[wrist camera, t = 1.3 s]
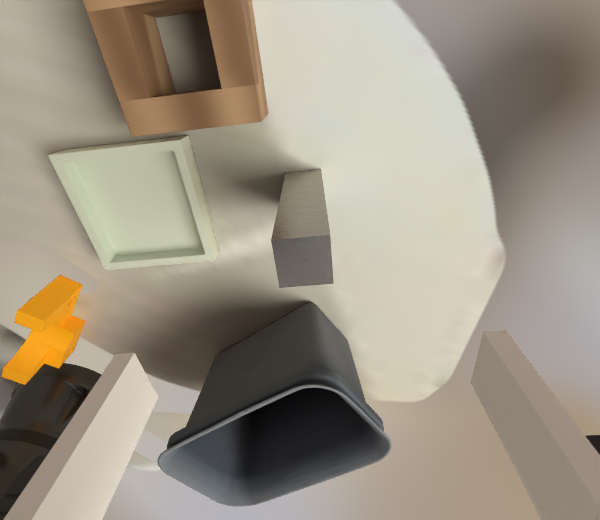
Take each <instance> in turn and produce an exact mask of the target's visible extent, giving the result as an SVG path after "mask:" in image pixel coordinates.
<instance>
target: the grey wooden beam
mask: <svg viewBox="0 0 600 520" xmlns="http://www.w3.org/2000/svg"><path fill="white" fill-rule="evenodd" d="M271 242H272V247H273V253H274V259H275V264H276V270H277V276H278V281H279V287H280V288H283V287H295V286H308V285H321V284H333V271H332V256H331V242H330V231H329V224H328V217H327V210H326V202H325V195H324V188H323V181H322V174H321V169H318V170H308V171H299V172H289V173H285V177H284V182H283V187H282V192H281V196H280V201H279V206H278V211H277V215H276V220H275V225H274V230H273V234H272V239H271Z"/></svg>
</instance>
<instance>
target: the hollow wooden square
mask: <svg viewBox="0 0 600 520" xmlns="http://www.w3.org/2000/svg"><path fill="white" fill-rule="evenodd" d="M83 3H84V6H85V8H86V11H87V14H88V17H89V19H90V22H91V25H92V28H93V31H94V33H95V36H96V39H97V42H98V44H99V47H100V50H101V53H102V55H103V58H104V61H105V64H106V67H107V69H108V72H109V75H110V78H111V80H112V83H113V86H114V89H115V92H116V94H117V97H118V100H119V103H120V105H121V108H122V111H123V114H124V116H125V119H126V122H127V125H128V128H129V130H130V133H131V136H132V137H135V136H143V135H152V134H160V133H169V132H177V131H186V130H194V129H203V128H211V127H220V126H228V125H237V124H245V123H254V122H261V121H262V120H263V119H264V118H265V117H266V116H267V115H268V108H267V102H266V95H265V88H264V81H263V74H262V68H261V61H260V54H259V47H258V40H257V34H256V27H255V20H254V13H253V7H252V0H83ZM198 11H206V16H207V20H208V25H209V30H210V35H211V40H212V44H213V49H214V54H215V59H216V64H217V68H218V73H219V78H220V83H221V88H215V89H208V90H200V91H192V92H184V93H176V92H175V88H174V85H173V81H172V78H171V74H170V70H169V67H168V63H167V59H166V56H165V52H164V49H163V45H162V41H161V38H160V34H159V30H158V27H157V23H156V19H155V18H157V17H164V16H171V15H177V14H184V13H191V12H198Z"/></svg>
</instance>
